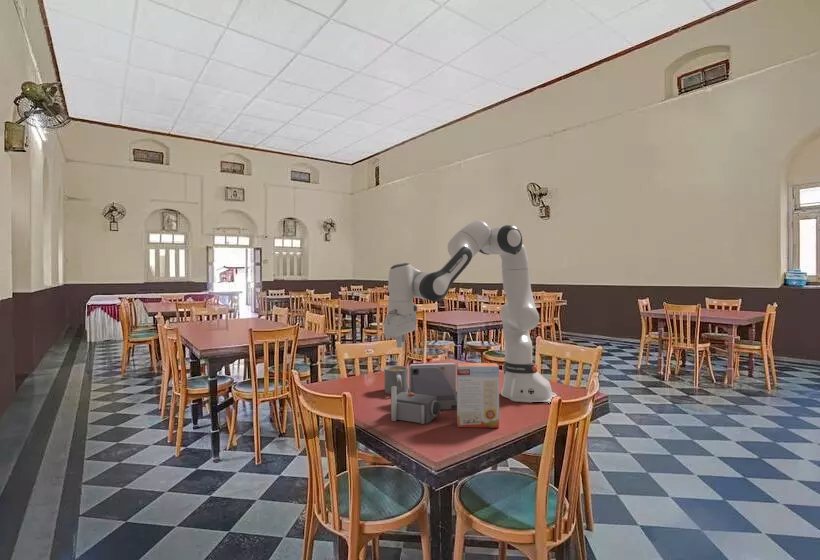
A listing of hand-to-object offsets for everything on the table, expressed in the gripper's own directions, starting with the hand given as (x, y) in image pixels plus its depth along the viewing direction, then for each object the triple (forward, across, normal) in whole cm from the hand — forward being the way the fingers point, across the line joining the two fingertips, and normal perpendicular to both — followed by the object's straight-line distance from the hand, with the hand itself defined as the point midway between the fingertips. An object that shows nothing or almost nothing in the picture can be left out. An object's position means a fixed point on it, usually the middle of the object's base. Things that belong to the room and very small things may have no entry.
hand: (400, 346), depth 157 cm
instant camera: (+26, +19, -6) cm, 32 cm away
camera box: (+25, +1, -5) cm, 26 cm away
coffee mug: (+25, +26, +14) cm, 39 cm away
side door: (+25, -5, -5) cm, 26 cm away
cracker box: (+25, +2, -28) cm, 38 cm away
